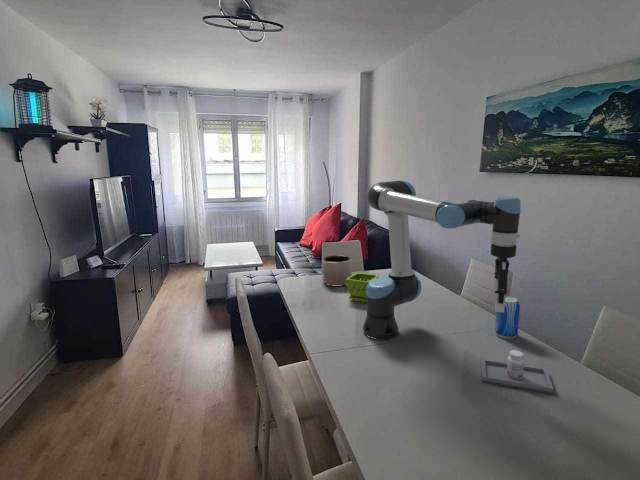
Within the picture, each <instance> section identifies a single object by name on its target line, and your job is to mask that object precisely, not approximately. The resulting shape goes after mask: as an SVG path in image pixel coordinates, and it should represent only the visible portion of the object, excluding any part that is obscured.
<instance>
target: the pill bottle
mask: <svg viewBox="0 0 640 480" xmlns="http://www.w3.org/2000/svg"><path fill="white" fill-rule="evenodd" d="M508 355H509V356H508V357H507V363H508V364H507V375H508V376H509V377H510V378H512V379H516V380H520V379H522V378H523V368H524V365H525V360H524V353H523V352H522V351H520V350H517V349H513V350H510V351H509V354H508Z"/></svg>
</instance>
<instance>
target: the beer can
mask: <svg viewBox="0 0 640 480" xmlns="http://www.w3.org/2000/svg"><path fill="white" fill-rule="evenodd" d="M518 301H519V300H518V299H517V298H516V297H513V296H508V295H506V299H505V309H504V313H503V312H495V325H494V326H495V327H494V332H495V333H496V336H497V337H500V338H501V339H504V340H513V339H515V338H516V337H517V336H518V334H519V323H520V311H521V305H520V303H519V302H518Z"/></svg>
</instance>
